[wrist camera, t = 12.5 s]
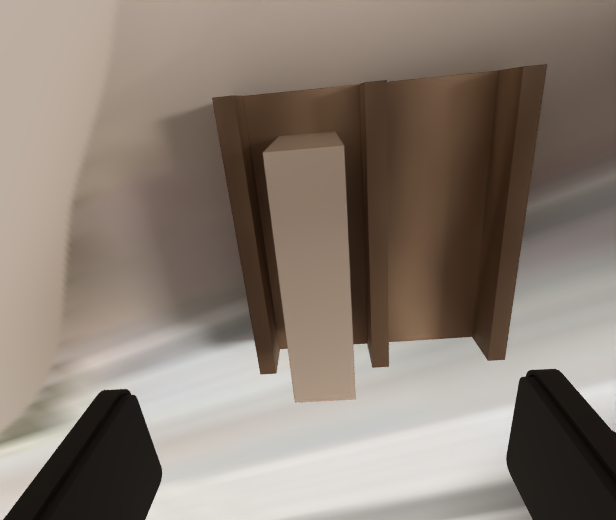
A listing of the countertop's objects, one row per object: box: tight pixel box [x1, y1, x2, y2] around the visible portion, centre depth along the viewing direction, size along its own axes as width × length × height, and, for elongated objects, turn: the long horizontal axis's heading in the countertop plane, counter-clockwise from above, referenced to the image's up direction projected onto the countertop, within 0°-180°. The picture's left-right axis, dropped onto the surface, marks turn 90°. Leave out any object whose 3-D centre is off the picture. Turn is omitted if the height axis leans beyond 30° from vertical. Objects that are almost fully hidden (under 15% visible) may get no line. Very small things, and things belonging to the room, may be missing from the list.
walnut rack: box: [212, 64, 547, 374], centre depth 22 cm, size 15×16×4 cm
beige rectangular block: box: [263, 131, 356, 402], centre depth 19 cm, size 3×12×7 cm, turn 5°
